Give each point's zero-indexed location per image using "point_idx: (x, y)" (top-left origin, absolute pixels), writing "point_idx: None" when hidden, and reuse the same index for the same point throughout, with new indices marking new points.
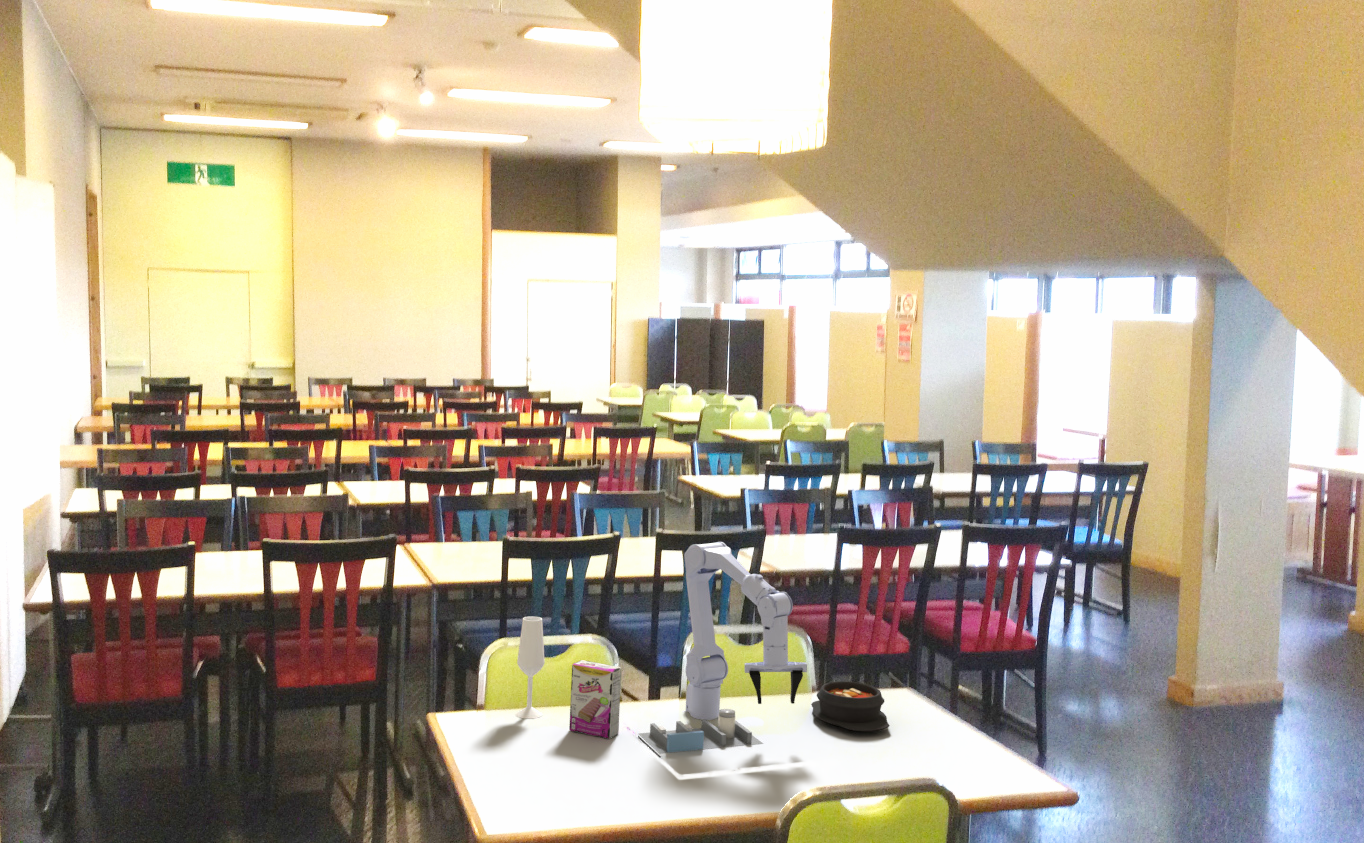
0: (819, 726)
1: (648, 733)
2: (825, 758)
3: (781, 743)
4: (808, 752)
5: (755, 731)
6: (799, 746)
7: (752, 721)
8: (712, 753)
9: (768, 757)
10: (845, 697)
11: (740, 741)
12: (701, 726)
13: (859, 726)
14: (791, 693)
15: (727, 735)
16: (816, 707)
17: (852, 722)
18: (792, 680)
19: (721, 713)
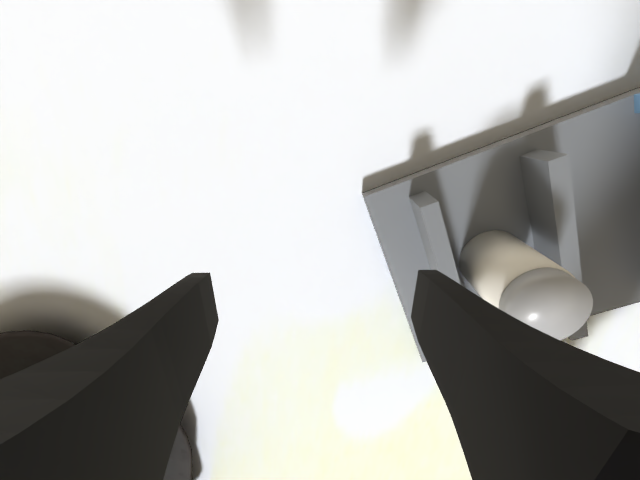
0: None
1: None
2: (132, 102)
3: (292, 243)
4: (199, 163)
5: (367, 337)
6: (232, 221)
7: (365, 407)
8: (575, 103)
9: (353, 83)
10: None
11: (448, 208)
12: None
13: (33, 357)
14: (186, 335)
15: (499, 234)
16: (181, 478)
17: None
18: (77, 409)
19: (585, 287)
